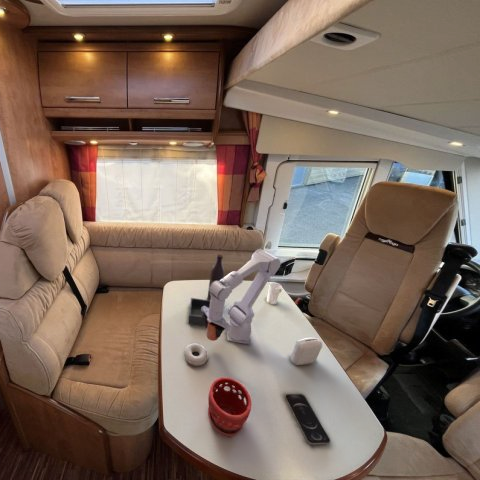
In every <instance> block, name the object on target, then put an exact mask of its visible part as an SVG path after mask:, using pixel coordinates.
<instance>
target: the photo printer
mask: <svg viewBox="0 0 480 480" xmlns="http://www.w3.org/2000/svg"><path fill="white" fill-rule="evenodd" d="M322 348H323V343H322V340H320V338H317V337H305V338H301V339H299V340H297V341H296V342H295V344H294V346H293V350H292V352H291V355H290V361H291V363H293V365H296V366H302V365H308V364H313V363H315V362H316V361H317V359H318V357H319V356H320V355H319V354H320V353H321V349H322Z"/></svg>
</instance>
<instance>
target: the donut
mask: <svg viewBox="0 0 480 480" xmlns="http://www.w3.org/2000/svg"><path fill="white" fill-rule="evenodd" d="M183 353H184V354H183V356H184V358H185V360H186V361H187V362H188V363H189V364H190V365H193V366H202V365H203V364H205V363H206V362H207V361H208V351H207V349H206V348H205V347H204V346H203V345H202V344H200V343H190V344H188V345H187V346H186V347H185V348H184V351H183ZM193 353H198V354H199V355H197V356H196V355H194V354H193Z"/></svg>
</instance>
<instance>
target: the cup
mask: <svg viewBox="0 0 480 480" xmlns="http://www.w3.org/2000/svg"><path fill="white" fill-rule="evenodd" d="M282 290H283V286H282V284H280V283H278V282H274V281H273V282H272V281H271V282H269V285H268V291H267V297H266V302H267V303H268V304H270V305H276V304H277V302H278V299H279V296H280V294H281V292H282Z"/></svg>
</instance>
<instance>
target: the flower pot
mask: <svg viewBox="0 0 480 480" xmlns="http://www.w3.org/2000/svg"><path fill="white" fill-rule="evenodd" d="M227 387H228V388H229V389H228V390H227V389H225V388H227ZM207 401H208V409H207V416H208V420H209V422H210V424H211V425H212V427H213V428H214V429H215V430H216V432H218V433H219V434H221V435H224V436H227V437H233V436H236V435H238V434H239V433H240V432H241V431H242V430H243V428H244V425H245V424H246V422H247V420H248V418H249V416H250V414H251V411H252V404H253V403H252V398H251V394H250V393H249V391H248V390H247V388H246V387H245V386H244V385H243V384H242V383H241V382H239V381H238V380H236V379H234V378H231V377H227V376H226V377H225V376H224V377H219V378H216V379H215V380H213V382H212V383H211V385H210V388H209V392H208V397H207Z"/></svg>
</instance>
